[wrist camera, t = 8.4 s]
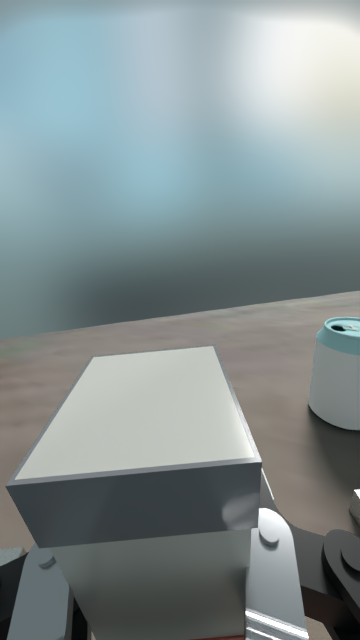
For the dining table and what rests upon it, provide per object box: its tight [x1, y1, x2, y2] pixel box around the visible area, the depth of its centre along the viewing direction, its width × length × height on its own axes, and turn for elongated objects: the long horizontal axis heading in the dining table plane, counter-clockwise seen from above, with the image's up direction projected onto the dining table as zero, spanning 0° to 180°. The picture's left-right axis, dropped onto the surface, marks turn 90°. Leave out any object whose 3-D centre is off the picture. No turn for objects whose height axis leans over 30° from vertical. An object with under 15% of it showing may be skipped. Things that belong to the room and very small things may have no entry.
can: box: [308, 317, 360, 430], centre depth 27 cm, size 7×7×12 cm
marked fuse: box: [6, 345, 262, 640], centre depth 9 cm, size 5×5×13 cm
